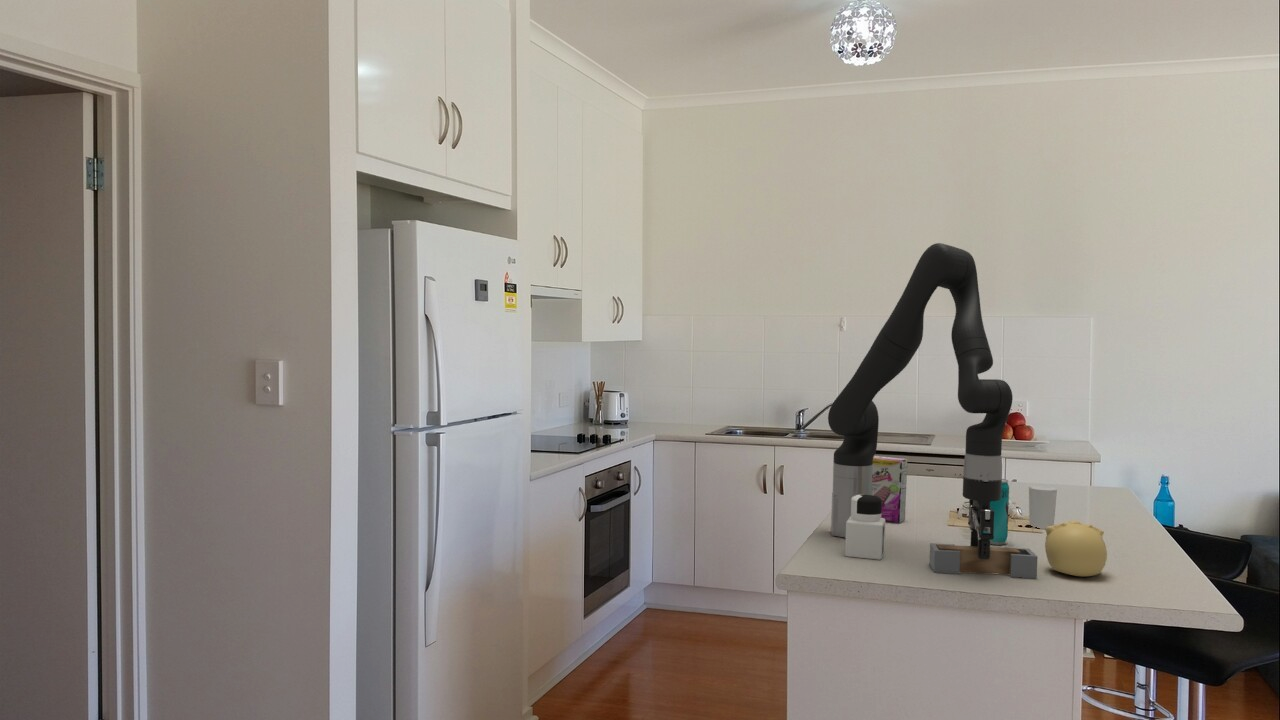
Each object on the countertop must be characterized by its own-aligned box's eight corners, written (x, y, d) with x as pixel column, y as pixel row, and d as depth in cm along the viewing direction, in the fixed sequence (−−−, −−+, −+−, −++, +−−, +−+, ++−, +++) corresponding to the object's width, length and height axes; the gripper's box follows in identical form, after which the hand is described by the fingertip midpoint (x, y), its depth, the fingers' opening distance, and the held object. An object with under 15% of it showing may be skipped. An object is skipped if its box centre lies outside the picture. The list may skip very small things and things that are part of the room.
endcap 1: (933, 572, 197) (934, 550, 197) (929, 564, 204) (930, 543, 204) (959, 573, 196) (960, 552, 196) (953, 565, 203) (954, 544, 203)
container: (884, 552, 214) (886, 494, 213) (881, 560, 207) (883, 500, 206) (849, 549, 216) (850, 491, 216) (844, 556, 209) (846, 497, 209)
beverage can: (1009, 546, 223) (1011, 482, 222) (983, 544, 224) (985, 480, 223) (1004, 541, 228) (1007, 478, 228) (979, 539, 230) (981, 477, 229)
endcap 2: (1028, 570, 201) (1029, 548, 201) (1036, 578, 194) (1037, 556, 194) (1003, 568, 202) (1004, 547, 201) (1010, 577, 195) (1011, 555, 195)
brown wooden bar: (939, 572, 198) (940, 548, 198) (935, 568, 202) (936, 544, 202) (1019, 576, 197) (1020, 552, 196) (1014, 571, 200) (1015, 548, 200)
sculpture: (1097, 568, 203) (1099, 518, 203) (1112, 583, 192) (1114, 529, 191) (1040, 564, 206) (1042, 514, 206) (1050, 578, 194) (1052, 525, 194)
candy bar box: (857, 518, 252) (859, 456, 251) (864, 515, 256) (866, 454, 255) (900, 524, 246) (902, 460, 245) (905, 521, 250) (907, 458, 249)
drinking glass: (1056, 530, 242) (1058, 491, 242) (1028, 528, 244) (1029, 489, 244) (1054, 525, 248) (1055, 487, 248) (1026, 523, 251) (1028, 485, 250)
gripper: (957, 470, 206) (955, 545, 207) (969, 480, 192) (966, 560, 192) (994, 471, 205) (991, 547, 205) (1008, 482, 191) (1006, 563, 191)
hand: (979, 553), depth 199 cm, fingers open, 8 cm apart
